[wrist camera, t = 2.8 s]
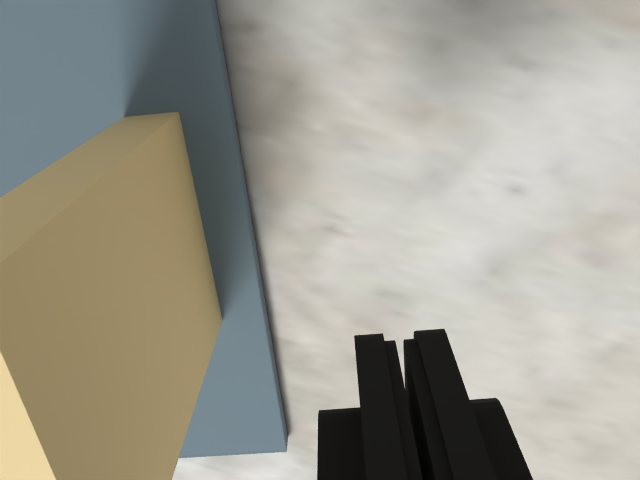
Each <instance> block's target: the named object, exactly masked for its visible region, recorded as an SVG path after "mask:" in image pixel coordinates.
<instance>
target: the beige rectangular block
mask: <svg viewBox="0 0 640 480" xmlns="http://www.w3.org/2000/svg"><path fill="white" fill-rule="evenodd" d="M221 324H222V316H221V311H220V306H219V302H218V297H217V292H216V287H215V282H214V278H213V273H212V268H211V263H210V259H209V254H208V249H207V244H206V240H205V235H204V230H203V225H202V220H201V216H200V211H199V206H198V201H197V197H196V192H195V187H194V182H193V177H192V173H191V168H190V163H189V158H188V154H187V149H186V144H185V139H184V134H183V130H182V125H181V120H180V115H179V112H171V113H161V114H150V115H140V116H129V117H123V118H122V119H120V120H119V121H117V122H116V123H114V124H112V125H111V126H109V127H108V128H106V129H105V130H103V131H102V132H100V133H99V134H97V135H95V136H94V137H92V138H91V139H89V140H88V141H86V142H85V143H83V144H82V145H80V146H79V147H77V148H75V149H74V150H72V151H71V152H69V153H68V154H66V155H65V156H63V157H62V158H60V159H59V160H57V161H55V162H54V163H52V164H51V165H49V166H48V167H46V168H45V169H43V170H42V171H40V172H39V173H37V174H35V175H34V176H32V177H31V178H29V179H28V180H26V181H25V182H23V183H22V184H20V185H19V186H17V187H15V188H14V189H12V190H11V191H9V192H8V193H6V194H5V195H3V196H2V197H0V480H172V477H173V474H174V471H175V467H176V464H177V461H178V458H179V455H180V452H181V449H182V446H183V442H184V439H185V436H186V433H187V430H188V427H189V424H190V421H191V417H192V414H193V411H194V408H195V405H196V402H197V399H198V396H199V392H200V389H201V386H202V383H203V380H204V377H205V374H206V371H207V367H208V364H209V361H210V358H211V355H212V352H213V349H214V346H215V342H216V339H217V336H218V333H219V330H220V327H221Z"/></svg>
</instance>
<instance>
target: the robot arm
mask: <svg viewBox="0 0 640 480" xmlns="http://www.w3.org/2000/svg"><path fill="white" fill-rule="evenodd" d="M354 338H355V350H356V362H357V374H358V385H359V397H360V408H347V409H332V410H319V414H318V471H317V480H533V478H532V476H531V474H530V471H529V469H528V467H527V464H526V462H525V459H524V457H523V455H522V452H521V450H520V447H519V445H518V443H517V440H516V438H515V436H514V433H513V431H512V428H511V426H510V424H509V421H508V419H507V416H506V414H505V412H504V409H503V407H502V405H501V403H500V401H499V400H498V399H497V398H490V399H475V400H469V398H468V395H467V392H466V389H465V386H464V383H463V380H462V377H461V375H460V372H459V369H458V366H457V363H456V360H455V357H454V354H453V351H452V349H451V346H450V343H449V340H448V337H447V334H446V332H445V330H444V329H435V330H422V331H415V332H414V339H407V340H404V369H405V388H404V382H403V377H402V372H401V367H400V362H399V357H398V352H397V347H396V342H395V340H393V341H384V337H383V333H382V334H369V335H356V336H354Z"/></svg>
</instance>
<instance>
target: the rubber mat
mask: <svg viewBox="0 0 640 480" xmlns="http://www.w3.org/2000/svg"><path fill="white" fill-rule="evenodd" d="M171 112H179V115H180V120H181V125H182V130H183V134H184V139H185V144H186V149H187V154H188V158H189V163H190V168H191V173H192V177H193V182H194V187H195V192H196V197H197V201H198V206H199V211H200V216H201V220H202V225H203V230H204V235H205V240H206V244H207V249H208V254H209V259H210V263H211V268H212V273H213V278H214V282H215V287H216V292H217V297H218V302H219V306H220V311H221V316H222V324H221V327H220V330H219V333H218V336H217V339H216V342H215V346H214V349H213V352H212V355H211V358H210V361H209V364H208V367H207V371H206V374H205V377H204V380H203V383H202V386H201V389H200V392H199V396H198V399H197V402H196V405H195V408H194V411H193V414H192V417H191V421H190V424H189V427H188V430H187V433H186V436H185V439H184V442H183V446H182V449H181V452H180V455H179V458H188V457H205V456H222V455H239V454H257V453H274V452H287V441H288V436H287V430H286V424H285V418H284V412H283V406H282V400H281V394H280V387H279V381H278V375H277V369H276V363H275V357H274V351H273V345H272V339H271V333H270V327H269V321H268V315H267V309H266V303H265V297H264V291H263V285H262V279H261V273H260V267H259V261H258V255H257V249H256V243H255V237H254V231H253V225H252V219H251V212H250V206H249V200H248V194H247V188H246V182H245V176H244V170H243V164H242V158H241V152H240V146H239V140H238V134H237V128H236V122H235V116H234V110H233V104H232V98H231V92H230V86H229V80H228V74H227V68H226V62H225V56H224V50H223V44H222V37H221V31H220V25H219V19H218V13H217V7H216V1H215V0H0V197H2V196H3V195H5V194H6V193H8V192H9V191H11V190H12V189H14V188H15V187H17V186H19V185H20V184H22V183H23V182H25V181H26V180H28V179H29V178H31V177H32V176H34V175H35V174H37V173H39V172H40V171H42V170H43V169H45V168H46V167H48V166H49V165H51V164H52V163H54V162H55V161H57V160H59V159H60V158H62V157H63V156H65V155H66V154H68V153H69V152H71V151H72V150H74V149H75V148H77V147H79V146H80V145H82V144H83V143H85V142H86V141H88V140H89V139H91V138H92V137H94V136H95V135H97V134H99V133H100V132H102V131H103V130H105V129H106V128H108V127H109V126H111V125H112V124H114V123H116V122H117V121H119V120H120V119H122V118H123V117H129V116H140V115H150V114H161V113H171Z"/></svg>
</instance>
